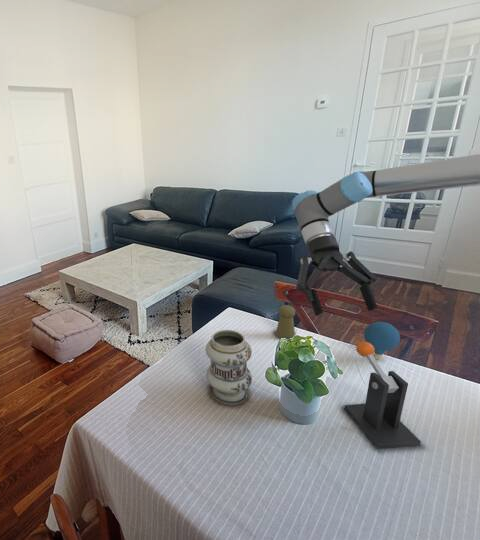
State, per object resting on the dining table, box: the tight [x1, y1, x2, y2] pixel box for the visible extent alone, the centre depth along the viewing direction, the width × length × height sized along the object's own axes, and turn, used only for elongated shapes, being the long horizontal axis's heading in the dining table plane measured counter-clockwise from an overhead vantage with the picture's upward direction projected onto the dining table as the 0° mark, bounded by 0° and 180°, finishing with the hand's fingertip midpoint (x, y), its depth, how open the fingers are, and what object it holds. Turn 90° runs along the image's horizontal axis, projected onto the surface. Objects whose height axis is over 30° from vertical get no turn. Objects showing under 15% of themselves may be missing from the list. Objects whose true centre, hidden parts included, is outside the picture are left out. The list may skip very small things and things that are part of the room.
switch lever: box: [355, 341, 399, 393], centre depth 78 cm, size 12×4×4 cm, turn 0°
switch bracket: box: [343, 370, 422, 450], centre depth 77 cm, size 12×9×14 cm
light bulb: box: [363, 321, 401, 360], centre depth 99 cm, size 8×8×12 cm
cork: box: [275, 304, 296, 340], centre depth 116 cm, size 6×6×11 cm
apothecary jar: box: [204, 329, 253, 406], centre depth 92 cm, size 12×12×18 cm
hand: (346, 311), depth 87 cm, fingers open, 13 cm apart
